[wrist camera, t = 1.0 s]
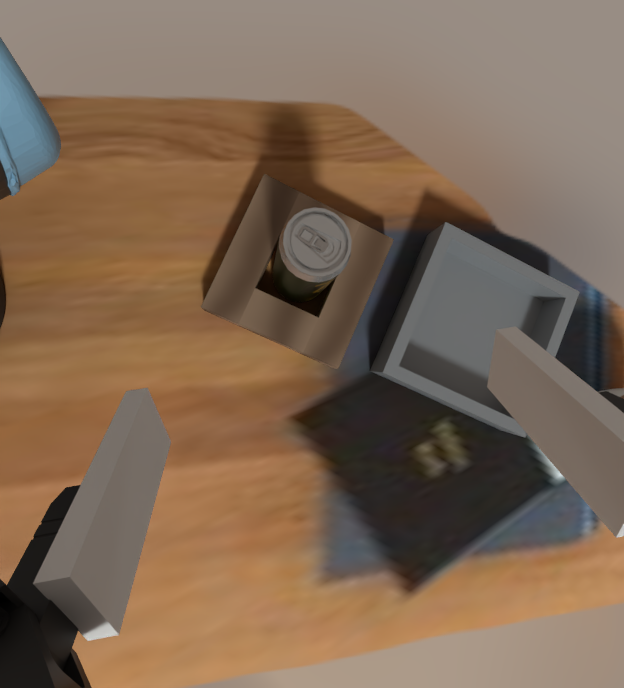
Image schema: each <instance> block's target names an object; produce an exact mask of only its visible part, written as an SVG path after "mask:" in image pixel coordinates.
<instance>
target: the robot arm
mask: <svg viewBox="0 0 624 688" xmlns="http://www.w3.org/2000/svg"><path fill="white" fill-rule="evenodd" d="M60 149H61V141H60V136H59V133H58V130H57V129H56V127H55V125H54V123H53V121H52V119H51V117H50V116H49V114H48V112H47V111H46V109H45V107H44V106H43V104H42V102H41V101H40V99H39V98H38V96H37V94H36V93H35V91H34V90H33V88H32V86H31V85H30V83H29V81H28V80H27V78H26V77H25V75H24V74H23V72H22V70H21V69H20V67H19V66H18V64H17V63H16V61H15V59H14V58H13V56H12V55H11V53H10V52H9V50H8V48H7V47H6V45H5V44H4V42H3V41H2V39H1V38H0V200H1V199H3V198H4V197H6V196H8V195H11V196H14V195H16V193H17V192H19V190H20V186H22V185H23V184H25V183H26V182H28V181H30V180H31V179H33V178H34V177H36V176H37V175H39V174H40V173H42V172H44V171H45V170H47V169H48V168H50V167H51V166H53V165H54V163H55V162H56V161H57V159H58V157H59V153H60ZM4 310H5V293H4V287H3V282H2V279H1V276H0V327H1V324H2V321H3V316H4ZM487 388H488V389H489V390H490V391H491V392H492V393H493V395H494V396H495V397H496V398H497V399H498V400H499V402H500V403H501V404H502V405H503V406H504V407H505V409H506V410H507V411H508V412H509V413H510V414H511V416H512V417H513V418H514V419H515V420H516V421H517V423H518V424H519V425H520V426H521V427H522V428H523V430H524V431H525V432H526V433H527V434H528V435H529V437H530V438H531V439H532V440H533V441H534V442H535V444H536V445H537V446H538V447H539V448H540V449H541V451H542V452H543V453H544V454H545V455H546V456H547V457H548V459H549V460H550V461H551V462H552V463H553V464H554V466H555V467H556V468H557V469H558V470H559V471H560V473H561V474H562V475H563V476H564V477H565V478H566V480H567V481H568V482H569V483H570V484H571V485H572V487H573V488H574V489H575V490H576V491H577V492H578V494H579V495H580V496H581V497H582V498H583V499H584V501H585V502H586V503H587V504H588V505H589V506H590V508H591V509H592V510H593V511H594V512H595V513H596V515H597V516H598V517H599V518H600V519H601V520H602V522H603V523H604V524H605V525H606V526H607V527H608V529H609V530H610V531H611V532H612V533H613V534H614V536H615V537H616V538H617V537H622V536H624V399H623V398H621V397H619V396H616V395H614V394H612V393H610V392H608V391H604V392H599V393H598V392H597V391H596V390H594V389H593V388H592V387H591V386H589V385H588V384H587V383H586V382H584V381H583V380H582V379H581V378H579V377H578V376H577V375H576V374H574V373H573V372H572V371H571V370H569V369H568V368H567V367H566V366H564V365H563V364H562V363H561V362H559V361H558V360H557V359H556V358H554V357H553V356H552V355H551V354H549V353H548V352H547V351H546V350H544V349H543V348H542V347H541V346H539V345H538V344H537V343H536V342H534V341H533V340H532V339H531V338H529V337H528V336H527V335H526V334H524V333H523V332H522V331H521V330H519V329H518V328H517V327H516V326H515V327H509V328H503V329H497V330H496V334H495V340H494V346H493V353H492V359H491V365H490V371H489V378H488V384H487ZM170 444H171V441H170V438H169V436H168V434H167V432H166V429H165V427H164V425H163V422H162V420H161V418H160V415H159V413H158V411H157V409H156V406H155V404H154V402H153V399H152V397H151V395H150V392H149V390H148V388H143V389H137V390H131V391H126V393H125V395H124V397H123V399H122V401H121V403H120V405H119V407H118V409H117V411H116V413H115V415H114V417H113V420H112V422H111V424H110V426H109V428H108V430H107V432H106V434H105V436H104V438H103V440H102V442H101V444H100V446H99V448H98V450H97V452H96V455H95V457H94V459H93V461H92V463H91V465H90V467H89V469H88V471H87V473H86V475H85V477H84V479H83V481H82V483H81V485H78V486H72V487H67V488H65V489H64V490H63V491H62V492H61V494H60V495H59V496H58V497H57V498H56V499H55V500H54V501H53V502H52V503H51V505H50V506H49V508H48V510H47V512H46V514H45V516H44V518H43V519H42V521H41V522H42V524H41V525H39V527H38V529H37V530H36V532H35V534H34V539H33V540H31V542H30V543H29V545H28V547H27V549H26V551H25V553H24V555H23V556H22V558H21V560H20V562H19V564H18V566H17V568H16V569H15V571H14V573H13V575H12V577H11V579H10V581H9V582H8V584H7V585H6V584H5V583H4V582H3V581H2V580H1V579H0V688H91V686H90V683H89V681H88V679H87V676H86V674H85V672H84V669H83V667H82V665H81V662H80V660H79V658H78V656H77V653H76V652H75V651H74V650H73V649H72V646H73V643H74V640H75V637H76V635H77V632H78V631H79V632H80V633H81V634H82V635H83V636H84V637H85V638H86V639H87V640H88V641H90V640H95V639H100V638H105V637H110V636H115V635H119V633H120V629H121V625H122V622H123V618H124V614H125V611H126V607H127V603H128V599H129V596H130V592H131V588H132V585H133V581H134V577H135V573H136V570H137V566H138V562H139V559H140V555H141V551H142V548H143V544H144V540H145V536H146V533H147V529H148V525H149V522H150V518H151V514H152V510H153V507H154V503H155V499H156V496H157V492H158V488H159V485H160V481H161V477H162V473H163V470H164V466H165V462H166V459H167V455H168V451H169V447H170Z"/></svg>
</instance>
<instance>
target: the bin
mask: <svg viewBox="0 0 624 688" xmlns="http://www.w3.org/2000/svg"><path fill="white" fill-rule="evenodd" d="M578 295H579V291H577V290H575V289H573V288H571V287H569V286H567V285H565V284H563V283H562V282H560V281H558V280H556V279H554V278H552V277H550V276H548V275H546V274H544V273H543V272H541V271H539V270H537V269H535V268H533V267H531V266H529V265H527V264H525V263H523V262H522V261H520V260H518V259H516V258H514V257H512V256H510V255H508V254H506V253H504V252H502V251H501V250H499V249H497V248H495V247H493V246H491V245H489V244H487V243H485V242H483V241H481V240H480V239H478V238H476V237H474V236H472V235H470V234H468V233H466V232H464V231H462V230H461V229H459V228H457V227H455V226H453V225H451V224H449V223H447V222H445V223H443V224H442V225H441V226H439V227H438V228H436V229H435V230H433V231H432V232H431V233H429V234H428V235H427V237H426V239H425V241H424V244H423V246H422V248H421V251H420V253H419V256H418V258H417V260H416V263H415V265H414V267H413V270H412V272H411V275H410V277H409V279H408V282H407V284H406V286H405V289H404V291H403V293H402V296H401V298H400V301H399V303H398V305H397V308H396V310H395V312H394V315H393V317H392V320H391V322H390V324H389V327H388V329H387V331H386V334H385V336H384V338H383V341H382V343H381V346H380V348H379V350H378V353H377V355H376V357H375V360H374V362H373V365H372V367H371V369H370V371H371V372H373V373H375V374H378V375H380V376H382V377H384V378H386V379H389V380H391V381H393V382H395V383H397V384H400V385H402V386H404V387H406V388H408V389H411V390H413V391H415V392H417V393H419V394H422V395H424V396H426V397H428V398H430V399H433V400H435V401H437V402H439V403H441V404H444V405H446V406H448V407H450V408H452V409H455V410H457V411H459V412H461V413H463V414H466V415H468V416H470V417H472V418H474V419H477V420H479V421H481V422H483V423H485V424H488V425H490V426H492V427H494V428H496V429H499V430H502V431H505V432H508V433H512V434H515V435H519V436H522V437H526V434H527V433H526V432H525V431H524V430H523V428H522V427H521V426H520V425H519V424H518V423H517V421H516V420H515V419H514V418H513V417H512V416H511V414H510V413H509V412H508V411H507V410H506V409H505V407H504V406H503V405H502V404H501V403H500V402H499V400H498V399H497V398H496V397H495V396H494V395H493V393H492V392H491V391H490V390H489V389H488V388H487V384H488V378H489V371H490V365H491V359H492V353H493V346H494V340H495V334H496V330H497V329H503V328H509V327H515V326H516V327H517V328H518V329H519V330H521V331H522V332H523V333H524V334H526V335H527V336H528V337H529V338H531V339H532V340H533V341H534V342H536V343H537V344H538V345H539V346H541V347H542V348H543V349H544V350H546V351H547V352H548V353H549V354H551V355H552V356H553V357H554V358H555V357H556V354H557V351H558V349H559V346H560V343H561V341H562V338H563V335H564V333H565V330H566V327H567V325H568V322H569V319H570V317H571V314H572V311H573V309H574V306H575V303H576V301H577V298H578Z"/></svg>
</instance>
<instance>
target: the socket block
mask: <svg viewBox="0 0 624 688" xmlns="http://www.w3.org/2000/svg"><path fill="white" fill-rule="evenodd" d="M314 207H315V208H323V209H327V210H329V211H331V212H334V213H335V214H337V215H338V216H339V217H340V218H341V219H342V220H343V221H344V222H345V224H346V226H347V227H348V229H349V232H350V236H351V240H352V242H351V255H350V258H349V261H348V263H347V266H346V267H345V268H344V269H343V270H342V272H341V273H340V274H339V275H338V276H337V277H336V278H335V279H334V280H333V281H332V282H331V284H330V287H329V289H328V291H327V293H326V296H325V298H324V300H323V302H322V305H321V307H320V309H319V311H318V314H317V316H314V315H312V314H310V313H308V312H305V311H303V310H301V309H299V308H297V307H295V306H293V305H290V304H288V303H286V302H284V301H282V300H280V299H278V298H275V297H273V296H271V295H269V294H267V293H265V292H262V291H260V290H258V289H257V287H258V285H259V283H260V281H261V279H262V276H263V274H264V272H265V270H266V268H267V266H268V263H269V261H270V259H271V257H272V255H273V253H274V250H275V248H276V246H277V244H278V242H279V237H280V234H281V232H282V229H283V227H284V225H285V224H286V223H287V222H288V221H289V220H290V218H291V217H293V216H294V215H295V214H297V213H299V212H301V211H302V210H304V209H309V208H314ZM393 240H394V239H392V238H390V237H388V236H386V235H384V234H382V233H380V232H378V231H376V230H374V229H372V228H370V227H368V226H366V225H364V224H362V223H360V222H358V221H356V220H354V219H352V218H350V217H348V216H346V215H344V214H343V213H341V212H339V211H337V210H335V209H333V208H331V207H329V206H327V205H325V204H323V203H321V202H319V201H317V200H315V199H313V198H311V197H309V196H307V195H305V194H303V193H301V192H299V191H297V190H295V189H293V188H291V187H289V186H287V185H285V184H283V183H281V182H279V181H278V180H276V179H274V178H272V177H270V176H268V175H266V174H264V175H263V177H262V180H261V182H260V184H259V186H258V188H257V190H256V192H255V194H254V196H253V198H252V201H251V203H250V205H249V207H248V209H247V211H246V213H245V215H244V217H243V219H242V222H241V224H240V226H239V228H238V230H237V232H236V234H235V236H234V238H233V241H232V243H231V245H230V247H229V249H228V251H227V253H226V255H225V257H224V259H223V262H222V264H221V266H220V268H219V270H218V272H217V274H216V276H215V278H214V281H213V283H212V285H211V287H210V289H209V291H208V293H207V295H206V297H205V299H204V302H203V304H202V306H201V308H202V309H204V310H205V311H207V312H209V313H211V314H214V315H216V316H218V317H220V318H223V319H225V320H227V321H229V322H231V323H234V324H236V325H238V326H240V327H243V328H245V329H247V330H249V331H252V332H254V333H256V334H258V335H260V336H263V337H265V338H267V339H269V340H272V341H274V342H276V343H278V344H280V345H283V346H285V347H287V348H289V349H292V350H294V351H296V352H298V353H300V354H303V355H305V356H307V357H309V358H312V359H314V360H316V361H318V362H321V363H323V364H325V365H327V366H329V367H332V368H336V369H338V368H339V365H340V363H341V361H342V358H343V356H344V354H345V351H346V349H347V347H348V344H349V342H350V340H351V338H352V335H353V333H354V331H355V328H356V326H357V324H358V321H359V319H360V317H361V314H362V312H363V310H364V307H365V305H366V303H367V300H368V298H369V296H370V293H371V291H372V289H373V286H374V284H375V282H376V279H377V277H378V275H379V273H380V270H381V268H382V266H383V263H384V261H385V259H386V256H387V254H388V252H389V249H390V247H391V245H392V242H393Z"/></svg>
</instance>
